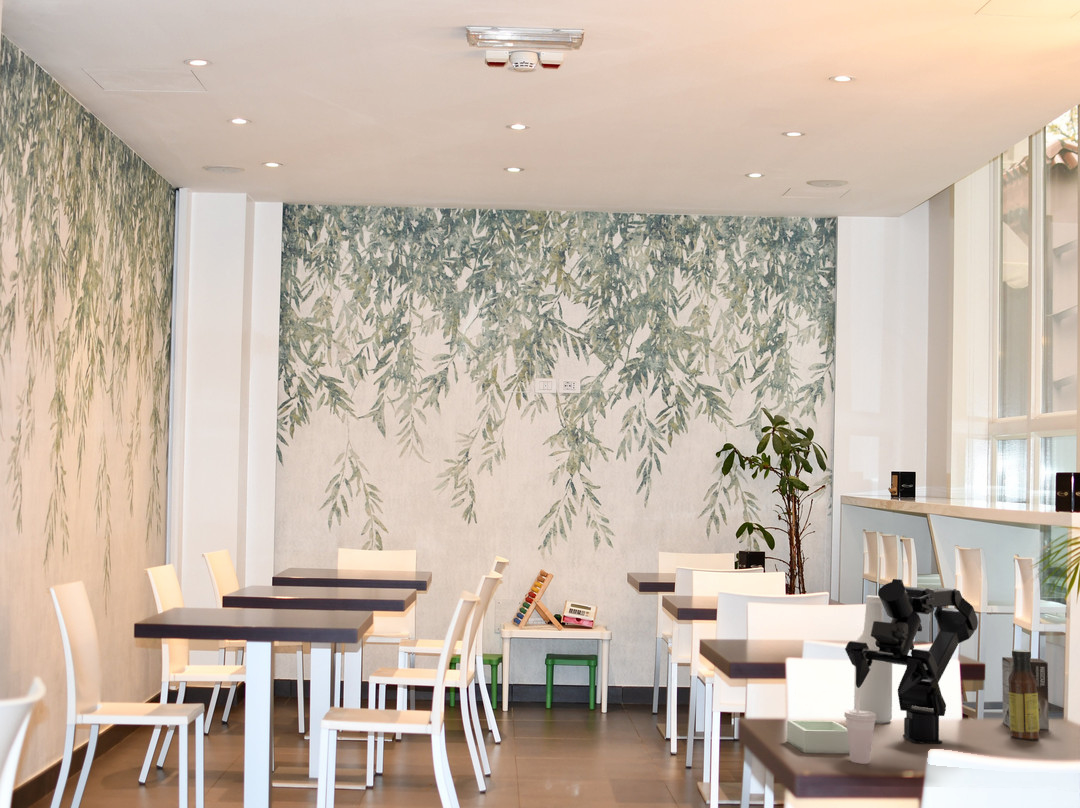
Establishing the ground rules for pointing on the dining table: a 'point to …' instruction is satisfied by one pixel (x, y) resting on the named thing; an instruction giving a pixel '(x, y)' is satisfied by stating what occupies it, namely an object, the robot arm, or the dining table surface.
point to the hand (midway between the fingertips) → (877, 689)
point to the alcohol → (875, 670)
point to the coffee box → (1041, 675)
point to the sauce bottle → (1023, 698)
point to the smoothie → (860, 733)
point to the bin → (818, 736)
